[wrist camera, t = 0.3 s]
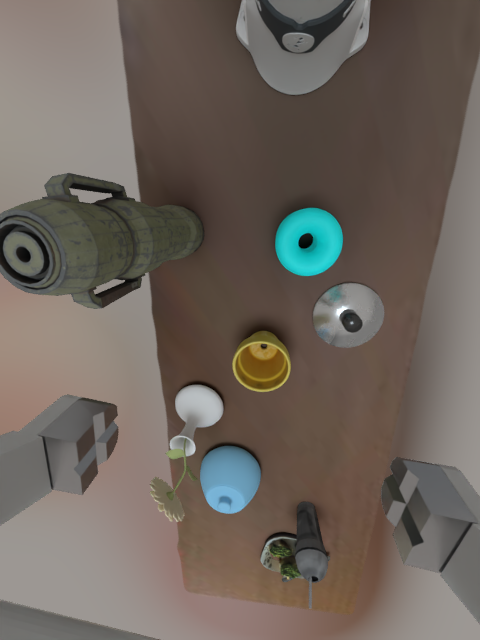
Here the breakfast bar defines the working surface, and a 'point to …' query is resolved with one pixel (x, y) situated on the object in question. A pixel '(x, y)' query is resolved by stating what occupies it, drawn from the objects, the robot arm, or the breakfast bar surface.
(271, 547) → the salad plate
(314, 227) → the donuts
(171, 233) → the olive green textured cylinder
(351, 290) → the steel lid
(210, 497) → the sugar bowl
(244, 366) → the plant pot
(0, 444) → the robot arm
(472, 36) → the breakfast bar surface
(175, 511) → the flower in vase
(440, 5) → the breakfast bar surface
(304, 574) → the beverage cup
